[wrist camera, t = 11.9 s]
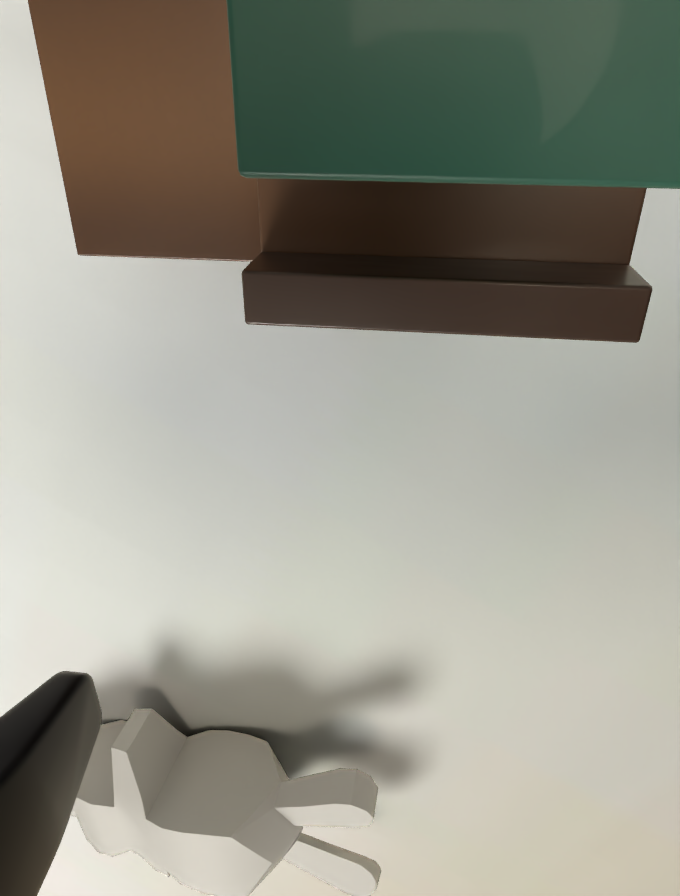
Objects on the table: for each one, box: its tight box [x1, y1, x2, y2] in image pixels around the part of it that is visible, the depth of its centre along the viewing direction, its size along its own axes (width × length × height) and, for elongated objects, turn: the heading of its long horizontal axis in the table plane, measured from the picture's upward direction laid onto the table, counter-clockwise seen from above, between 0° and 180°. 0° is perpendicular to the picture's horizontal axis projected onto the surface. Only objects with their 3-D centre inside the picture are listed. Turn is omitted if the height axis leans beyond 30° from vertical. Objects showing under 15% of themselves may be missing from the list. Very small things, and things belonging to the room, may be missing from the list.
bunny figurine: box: [70, 708, 381, 896], centre depth 29 cm, size 10×5×15 cm
